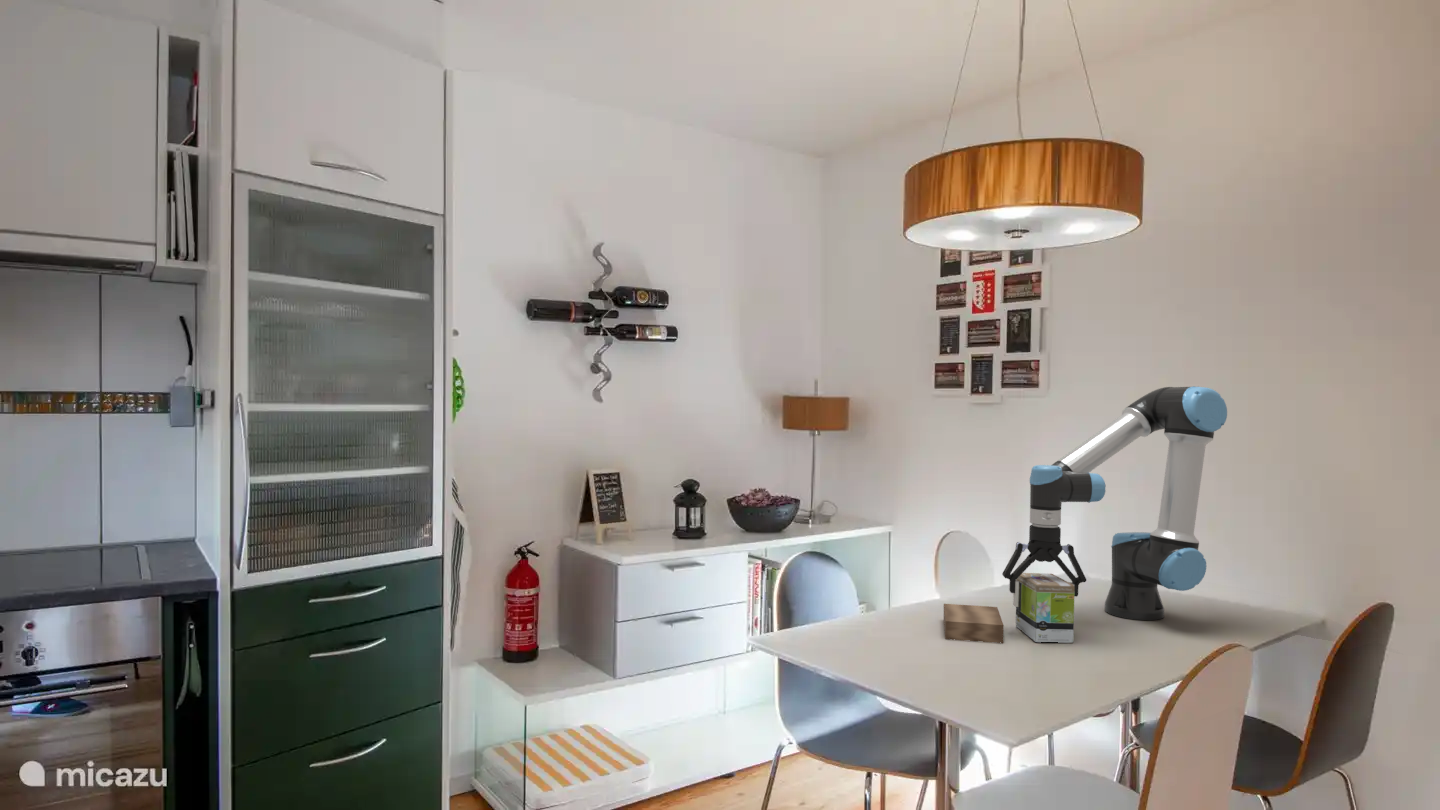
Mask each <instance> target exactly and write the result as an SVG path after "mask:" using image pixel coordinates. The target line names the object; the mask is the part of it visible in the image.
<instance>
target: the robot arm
mask: <svg viewBox="0 0 1440 810" xmlns="http://www.w3.org/2000/svg"><path fill="white" fill-rule="evenodd" d="M1227 418H1228V408H1227V404H1226V401H1225V399H1224V398H1223V397H1222V396H1221V394H1220V393H1219V392H1218V391H1216V390H1214V389H1213V388H1209V387H1204V386H1203V387H1202V386H1166V387H1161V388H1157V389H1155V390H1152V391H1150V392H1148V393H1147V394H1144V395H1143V396H1141V397H1140V398H1138V399H1136V400H1135V401H1133V402H1132V403H1131V404H1129V405H1127V406H1126V407H1125V408H1124V409H1123V410H1122V411H1121V415H1120V416H1119V417H1117V418H1115V419H1114V420H1113V421H1112V422H1110V423H1108V424H1107V425H1106V426H1105V427H1103V428H1101V429H1100V430H1099V431H1098V432H1095V434H1093V435H1092V436H1091V437H1089V438H1088V439H1086V440H1085V441H1083V442H1082V443H1080V444H1079V445H1078V446H1077V447H1075V448H1074V449H1071V451H1069V452H1068V453H1066V454H1065V455H1064V456H1062V457H1061V458H1060V459H1058V460H1057V461H1055V462H1054V463H1052V464H1049V465H1048V464H1047V465H1046V464H1036V465H1034V466H1032V467H1031V472H1030V477H1029V485H1030V488H1029V489H1030V491H1029V496H1030V497H1029V498H1030V499H1029V501H1030V502H1029V503H1030V504H1029V523H1030V526H1029V531H1028V532H1029V533H1028V534H1029V535H1028V536H1029V539H1028V543H1021V542H1020V541H1017V542H1016V544H1015V550H1014V551H1013V554H1012V555H1011V557H1010V558H1009V561H1008V563H1007V565H1006V566H1005V568H1004V570H1003V571H1002V576H1003V578H1005V579H1008V580H1009V588H1008V589H1009V590H1008V591H1009V592H1010V593H1011V594H1013V596H1012V597H1013V598H1012V600H1013V601H1012V604H1013V606H1014V607H1015V608H1016V607H1018V596H1019V582H1018V580H1016V579H1017V578H1018V577H1019V576H1020V575H1021V574H1022V573H1025V571H1026V570H1027V569H1028V567H1030V566H1031V564H1033V563H1034V562H1037V561H1038V562H1042V563H1043V562H1047V563H1052V562H1055V563H1056V564H1057V565H1058V566H1059V568H1061V570H1062V571H1063V572H1064V573H1065V575H1066V576H1067V577H1068V579H1070V582H1069V581H1068V582H1069V583H1071V584H1073V585H1074V587H1075V589H1074V591H1075V595H1074V597H1076V598H1077V597H1078V596H1079V585H1080V584H1082V583H1086V582H1087V578H1086V576H1085V574H1084V571H1083V569H1082V567H1081V565H1080V564H1079V561H1078V559H1077V558H1076V555H1075V548H1074V546H1073V545H1072V544H1069V543H1068V544H1065V545H1062V544H1061V536H1062V535H1061V531H1062V529H1061V527H1060V525H1062V503H1088V504H1089V503H1096V502H1100V501H1102V499H1103V498H1104V497H1105V495H1106V492H1107V491H1106V490H1107V489H1106V481H1105V479H1104V477H1103V476H1101V475H1100V474H1098V473H1093V472H1092V471H1093V470H1095V469H1096V468H1097V467H1099V466H1101V465H1102V464H1103V463H1104V462H1106V461H1108V460H1109V459H1110V458H1112V457H1113V456H1115V455H1116V454H1117V453H1119V452H1120V451H1121V450H1123V449H1125V448H1126V447H1127V446H1128V445H1130V444H1132V443H1133V442H1134V441H1136V440H1137V439H1139V438H1140V437H1144V438H1145V437H1148V436H1150V435H1151V434H1153V433H1154V432H1156V431H1160V430H1163V431H1164V432H1163V435H1164V436H1165V437H1166V438H1167V439H1168V447H1167V448H1168V449H1167V455H1166V463H1165V464H1166V465H1165V472H1164V477H1163V485H1162V490H1161V491H1162V492H1161V499H1160V508H1159V512H1158V513H1159V515H1158V522H1157V528H1156V529H1155V530H1153V531H1152V532H1143V531H1142V532H1136V531H1134V532H1133V531H1132V532H1117V533H1115V534H1114V535H1112V542H1111V545H1110V547H1111V586H1110V589H1109V591H1108V594H1107V595H1106V599H1105V601H1104V611H1105V612H1106V613H1107V612H1108V613H1107V614H1109V615H1111V614H1112V616H1114V615H1115V617H1119V618H1124V619H1129V620H1136V621H1137V620H1138V621H1139V620H1141V621H1155V620H1157V621H1158V620H1161V619H1163V618H1165V608H1164V604H1163V602H1162V599H1161V596H1160V592H1159V589H1158V586H1161V587H1164V588H1166V589H1168V590H1175V591H1181V592H1182V591H1183V592H1185V591H1190V590H1192V589H1194V588H1195V587H1196V586H1198V585H1199V584H1200V583H1201V582H1202V580H1203V579H1204V578H1205V575H1206V572H1207V560H1206V558H1205V557H1204V554H1203V553H1202V551H1201V552H1200V550H1199V547H1200V541H1199V539H1197V537H1196V536H1195V527H1196V519H1197V512H1198V505H1199V497H1200V489H1201V483H1202V482H1201V481H1202V476H1203V467H1204V462H1205V453H1206V446H1207V445H1208V444H1210V443H1211V442H1212V441H1214V436H1215V432H1216V431H1219V430H1220V429H1222V426H1224V425H1225V423H1226V421H1227ZM1091 472H1092V473H1091ZM1026 550H1028V552H1029V554H1028V555H1027V556H1026V558H1025V559H1024V560H1023V561H1022V562H1021V563H1020V564H1019V565H1018V566H1017V567H1016V569H1015V570H1014V568H1015V566H1016V564H1017V563H1018V561H1019V559H1020V557H1021V556H1022V553H1024V552H1025V551H1026ZM1062 551H1064V553H1065V554H1067V557H1068V558H1069V561H1070V563H1071V565H1072V567H1073V569H1074V571H1075V573H1076V575H1077V577H1076V575H1074V574H1073V572H1072V570H1070V569H1069V567H1068V566H1067V565H1066V564H1065V563H1064V562H1063V560H1062V559H1061V557H1060V554H1061V553H1062Z"/></svg>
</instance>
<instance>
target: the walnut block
mask: <svg viewBox="0 0 1440 810" xmlns="http://www.w3.org/2000/svg"><path fill="white" fill-rule="evenodd" d="M1004 627H1005V626H1004V622H1003V619H1002V617H1001V614H1000V611H999V609H998V606H987V605H972V604H971V605H970V604H957V603H943V629H944V639H945V640H950V639H952V640H953V641H954V639H955V641H964V640H970V641H969V642H978V641H983V643H992V642H997V643H996V644H1004ZM1000 642H1001V643H1000Z"/></svg>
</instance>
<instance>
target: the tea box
mask: <svg viewBox="0 0 1440 810" xmlns="http://www.w3.org/2000/svg"><path fill="white" fill-rule="evenodd" d="M1016 580H1018V582H1019V596H1018V607H1015V627H1016V628H1017V629H1019V630H1020V631H1021V630H1022V631H1021V632H1023V633H1024V634H1025V635H1026V636H1027V637H1028V638H1030V639H1031V640H1032V641H1034V642H1035V643H1041V642H1058V643H1057V644H1073V642H1074V634H1075V633H1074V631H1075V630H1074V629H1075V628H1074V625H1075V624H1074V622H1075V596H1074V595H1075V591H1074V589H1075V587H1074V585H1073V584H1071V583H1069V581H1067V580H1065V579H1064V578H1061V577H1060V576H1057V575H1056V574H1054V573H1048V572H1047V573H1043V572H1042V573H1041V572H1040V573H1039V572H1038V573H1036V572H1035V573H1034V572H1033V573H1032V572H1023V573H1022V574H1021V575H1020V576H1019V577H1018V578H1017V579H1016Z"/></svg>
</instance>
